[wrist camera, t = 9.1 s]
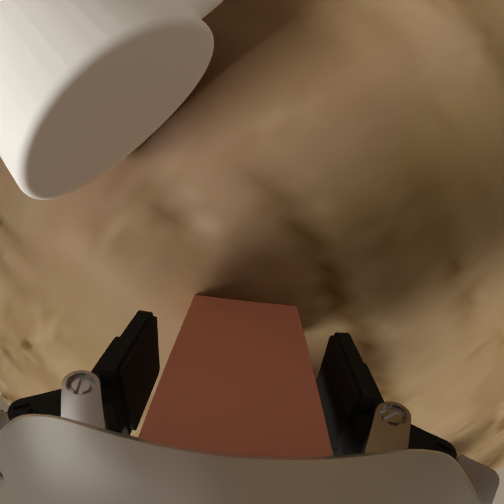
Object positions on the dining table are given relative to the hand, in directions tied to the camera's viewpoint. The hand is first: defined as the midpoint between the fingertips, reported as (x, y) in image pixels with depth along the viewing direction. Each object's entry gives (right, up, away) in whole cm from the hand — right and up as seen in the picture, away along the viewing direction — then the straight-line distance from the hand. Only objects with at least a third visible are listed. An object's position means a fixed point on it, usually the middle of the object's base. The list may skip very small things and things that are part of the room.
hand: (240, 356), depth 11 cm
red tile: (0, +1, +3) cm, 3 cm away
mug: (-5, +15, -1) cm, 16 cm away
